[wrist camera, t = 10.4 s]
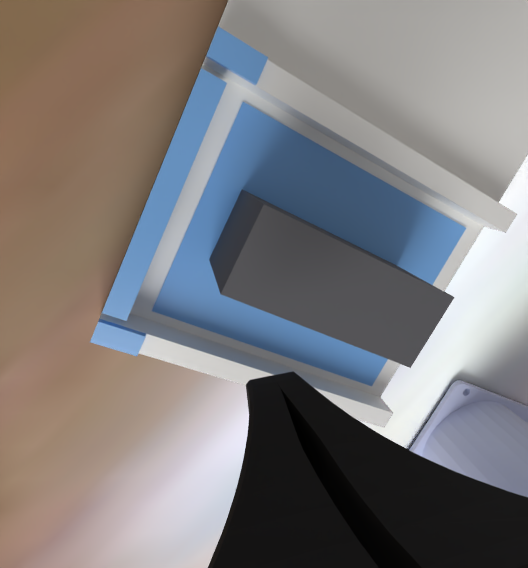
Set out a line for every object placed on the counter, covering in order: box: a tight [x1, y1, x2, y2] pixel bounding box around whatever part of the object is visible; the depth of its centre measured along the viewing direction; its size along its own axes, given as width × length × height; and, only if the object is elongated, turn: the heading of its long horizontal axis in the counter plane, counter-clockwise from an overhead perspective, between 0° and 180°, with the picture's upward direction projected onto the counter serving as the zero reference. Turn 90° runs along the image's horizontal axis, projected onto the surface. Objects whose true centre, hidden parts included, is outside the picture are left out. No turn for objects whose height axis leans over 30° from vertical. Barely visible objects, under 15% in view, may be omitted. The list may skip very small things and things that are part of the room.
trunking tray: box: [90, 0, 528, 427], centre depth 18 cm, size 16×25×3 cm, turn 153°
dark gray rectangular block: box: [209, 190, 454, 368], centre depth 17 cm, size 9×4×4 cm, turn 63°
